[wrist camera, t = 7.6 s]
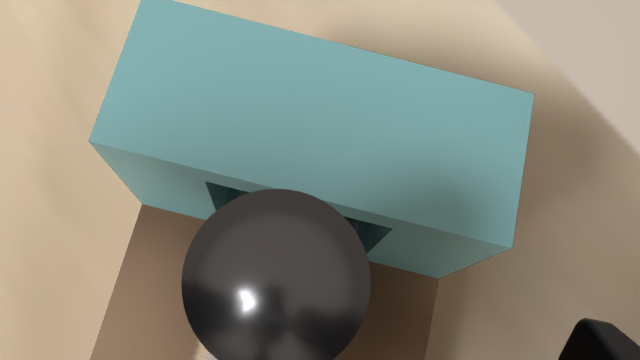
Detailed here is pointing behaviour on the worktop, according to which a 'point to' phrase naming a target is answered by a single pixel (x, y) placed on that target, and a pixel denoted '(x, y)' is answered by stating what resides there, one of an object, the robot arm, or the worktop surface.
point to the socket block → (315, 134)
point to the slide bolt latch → (174, 328)
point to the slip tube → (275, 279)
